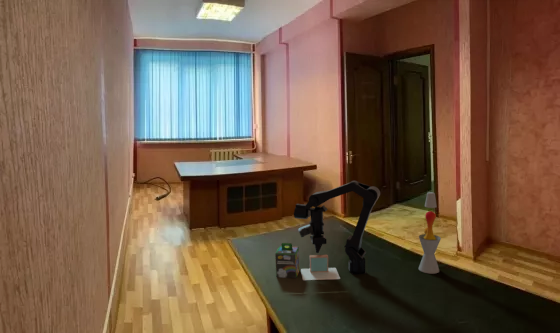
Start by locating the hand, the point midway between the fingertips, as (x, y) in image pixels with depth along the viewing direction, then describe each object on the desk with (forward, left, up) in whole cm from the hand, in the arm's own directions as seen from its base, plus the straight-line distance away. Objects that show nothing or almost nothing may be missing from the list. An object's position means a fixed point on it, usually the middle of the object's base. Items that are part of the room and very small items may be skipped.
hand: (317, 252), depth 175 cm
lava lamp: (-49, +8, -7) cm, 50 cm away
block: (0, +6, -6) cm, 9 cm away
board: (0, +9, -6) cm, 11 cm away
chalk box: (+14, +8, -7) cm, 17 cm away
